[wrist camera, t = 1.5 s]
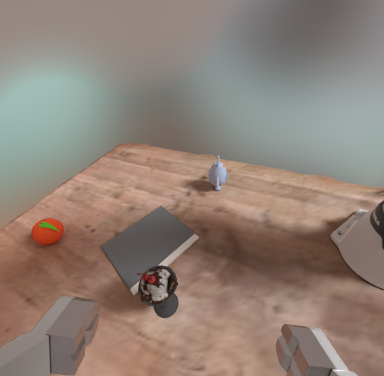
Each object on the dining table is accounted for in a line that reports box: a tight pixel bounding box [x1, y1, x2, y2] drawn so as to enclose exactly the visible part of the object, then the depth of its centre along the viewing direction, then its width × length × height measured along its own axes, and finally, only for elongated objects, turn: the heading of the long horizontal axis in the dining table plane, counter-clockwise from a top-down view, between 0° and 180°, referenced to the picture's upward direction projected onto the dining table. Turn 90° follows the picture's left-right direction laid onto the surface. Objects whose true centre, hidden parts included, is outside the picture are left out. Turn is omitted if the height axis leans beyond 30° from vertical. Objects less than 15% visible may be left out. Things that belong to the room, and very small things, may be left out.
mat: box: [101, 206, 199, 295], centre depth 50 cm, size 20×17×1 cm
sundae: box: [137, 265, 178, 318], centre depth 34 cm, size 7×7×15 cm
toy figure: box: [208, 156, 228, 191], centre depth 61 cm, size 11×6×12 cm, turn 172°
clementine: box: [31, 218, 64, 245], centre depth 51 cm, size 8×7×7 cm
